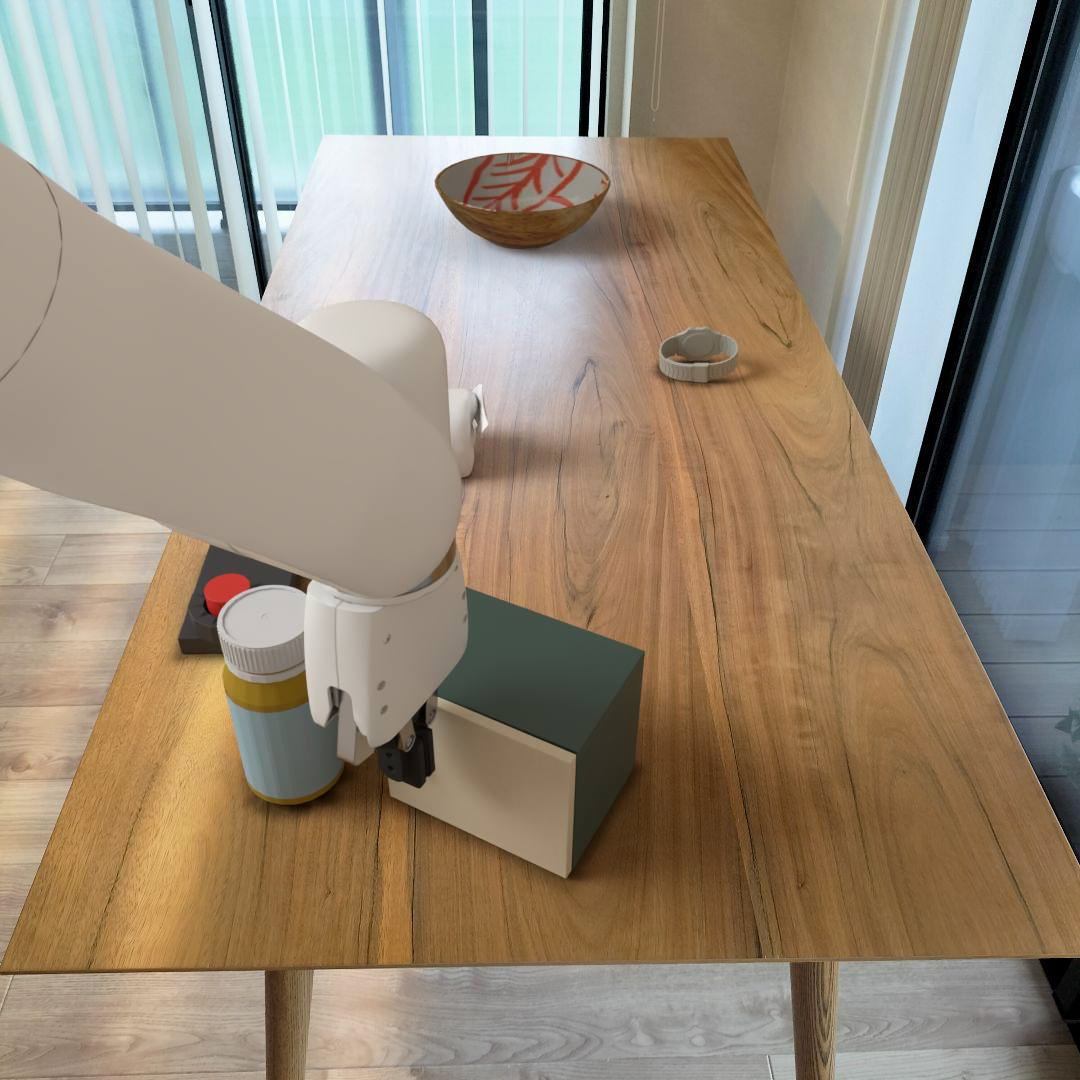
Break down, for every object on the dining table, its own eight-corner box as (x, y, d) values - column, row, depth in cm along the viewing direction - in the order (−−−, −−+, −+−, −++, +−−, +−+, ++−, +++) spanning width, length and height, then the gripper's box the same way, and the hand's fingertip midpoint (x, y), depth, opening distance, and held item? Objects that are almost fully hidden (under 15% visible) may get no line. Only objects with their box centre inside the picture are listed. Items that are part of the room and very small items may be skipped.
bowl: (628, 261, 151) (631, 205, 146) (450, 275, 147) (448, 218, 142) (584, 198, 171) (586, 147, 166) (426, 209, 166) (423, 157, 162)
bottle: (314, 721, 82) (287, 566, 73) (364, 777, 77) (342, 620, 68) (230, 766, 78) (190, 609, 69) (277, 827, 74) (241, 669, 65)
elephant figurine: (489, 427, 116) (487, 353, 110) (489, 492, 106) (487, 413, 101) (399, 429, 115) (393, 354, 110) (392, 493, 106) (385, 415, 100)
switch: (279, 658, 87) (273, 626, 85) (179, 660, 87) (170, 628, 85) (303, 553, 98) (298, 522, 96) (214, 555, 98) (207, 523, 96)
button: (249, 618, 86) (245, 601, 85) (203, 619, 86) (199, 602, 85) (256, 589, 89) (253, 573, 88) (212, 590, 89) (209, 573, 88)
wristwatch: (735, 361, 128) (740, 322, 125) (737, 387, 123) (742, 347, 120) (657, 357, 129) (660, 318, 126) (657, 383, 124) (660, 343, 121)
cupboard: (572, 870, 71) (577, 752, 64) (396, 790, 76) (383, 673, 69) (634, 767, 78) (645, 650, 71) (469, 701, 84) (464, 585, 76)
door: (555, 895, 69) (559, 779, 63) (377, 810, 75) (362, 694, 68) (571, 870, 71) (576, 754, 64) (396, 788, 76) (383, 673, 69)
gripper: (403, 451, 63) (422, 677, 74) (231, 597, 52) (283, 835, 64) (516, 487, 60) (517, 715, 71) (357, 648, 50) (388, 887, 61)
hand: (407, 771), depth 67 cm, fingers closed
